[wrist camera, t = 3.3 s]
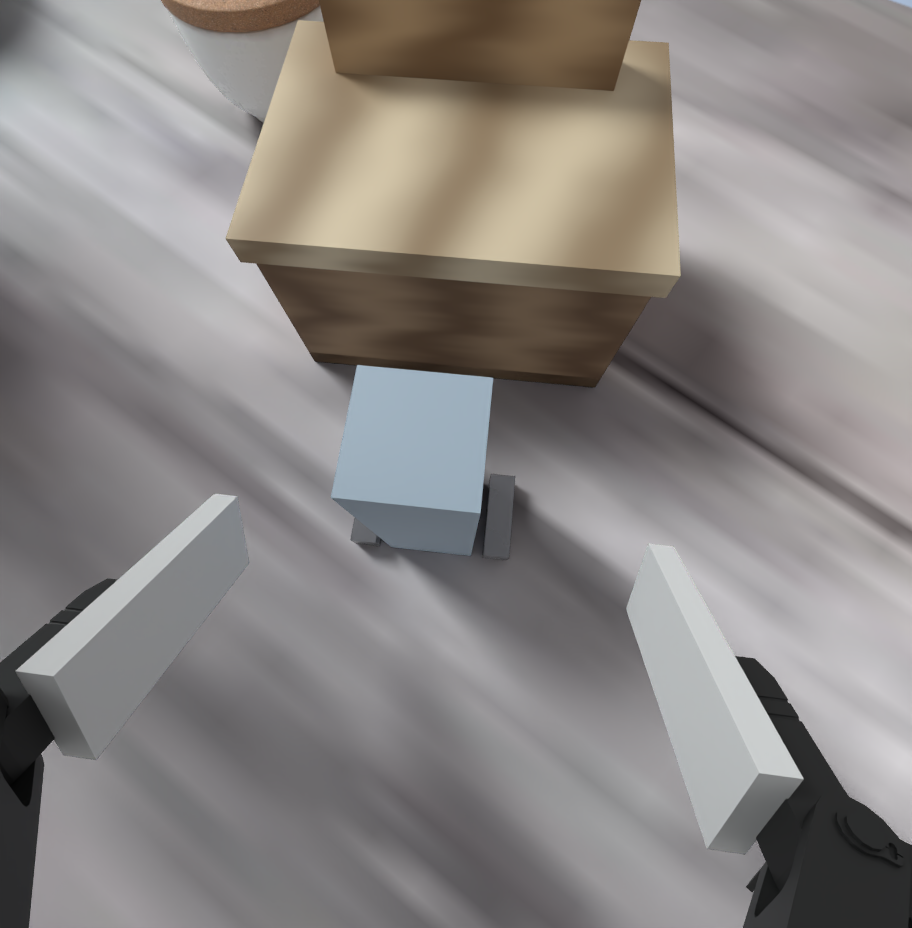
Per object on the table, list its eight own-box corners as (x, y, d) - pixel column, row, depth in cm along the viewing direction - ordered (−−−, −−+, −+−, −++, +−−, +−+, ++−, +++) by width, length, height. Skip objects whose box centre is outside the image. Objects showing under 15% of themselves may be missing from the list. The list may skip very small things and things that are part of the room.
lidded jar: (360, 154, 30) (318, -34, 21) (205, 153, 31) (99, -34, 22) (372, 49, 34) (340, -152, 25) (232, 49, 34) (149, -152, 25)
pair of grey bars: (356, 543, 22) (350, 540, 21) (369, 467, 24) (364, 461, 22) (506, 559, 22) (509, 557, 21) (512, 482, 23) (514, 476, 22)
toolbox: (314, 361, 25) (252, 257, 18) (352, 200, 29) (313, 57, 21) (594, 387, 25) (654, 291, 17) (597, 219, 28) (648, 78, 21)
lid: (240, 262, 18) (176, 162, 14) (306, 51, 21) (271, -76, 17) (665, 297, 17) (728, 203, 13) (657, 73, 21) (704, -53, 17)
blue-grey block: (391, 547, 22) (330, 497, 12) (402, 471, 23) (357, 365, 13) (470, 555, 22) (480, 513, 12) (478, 479, 23) (492, 377, 13)
